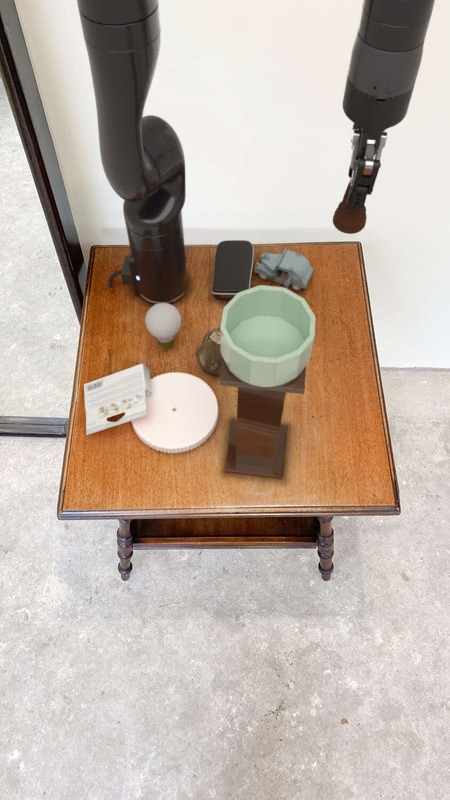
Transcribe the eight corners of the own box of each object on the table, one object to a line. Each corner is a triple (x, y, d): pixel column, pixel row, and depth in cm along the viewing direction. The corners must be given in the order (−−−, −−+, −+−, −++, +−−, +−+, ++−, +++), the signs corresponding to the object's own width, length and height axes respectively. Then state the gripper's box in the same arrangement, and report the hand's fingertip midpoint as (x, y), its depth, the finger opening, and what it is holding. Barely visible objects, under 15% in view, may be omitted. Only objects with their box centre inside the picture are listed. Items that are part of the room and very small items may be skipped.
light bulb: (164, 365, 110) (158, 330, 102) (142, 344, 113) (135, 308, 104) (190, 346, 112) (187, 311, 104) (169, 325, 115) (164, 289, 106)
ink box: (150, 368, 105) (155, 420, 101) (90, 389, 108) (93, 441, 104) (143, 361, 103) (148, 414, 99) (82, 382, 106) (85, 435, 102)
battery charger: (251, 303, 117) (256, 251, 122) (249, 291, 114) (254, 238, 118) (213, 303, 118) (219, 252, 123) (210, 291, 115) (216, 239, 119)
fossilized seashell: (234, 315, 113) (185, 345, 111) (240, 311, 106) (188, 343, 105) (256, 352, 113) (208, 382, 112) (264, 351, 107) (212, 383, 106)
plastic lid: (224, 448, 102) (224, 441, 100) (136, 462, 101) (134, 455, 99) (211, 374, 109) (211, 366, 107) (128, 386, 108) (126, 378, 106)
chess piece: (331, 232, 90) (342, 175, 81) (334, 206, 93) (345, 148, 84) (364, 236, 90) (379, 179, 81) (366, 209, 92) (381, 152, 84)
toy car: (262, 260, 122) (263, 242, 118) (312, 277, 120) (315, 258, 116) (249, 285, 119) (250, 267, 115) (300, 302, 117) (303, 284, 113)
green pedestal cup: (219, 476, 100) (215, 356, 71) (227, 417, 105) (227, 281, 76) (287, 484, 100) (312, 366, 70) (292, 424, 105) (317, 290, 76)
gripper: (350, 32, 76) (329, 152, 90) (346, 111, 69) (324, 228, 83) (415, 37, 75) (384, 157, 90) (418, 117, 68) (383, 233, 83)
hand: (355, 191), depth 86 cm, fingers closed on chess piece, 5 cm apart
